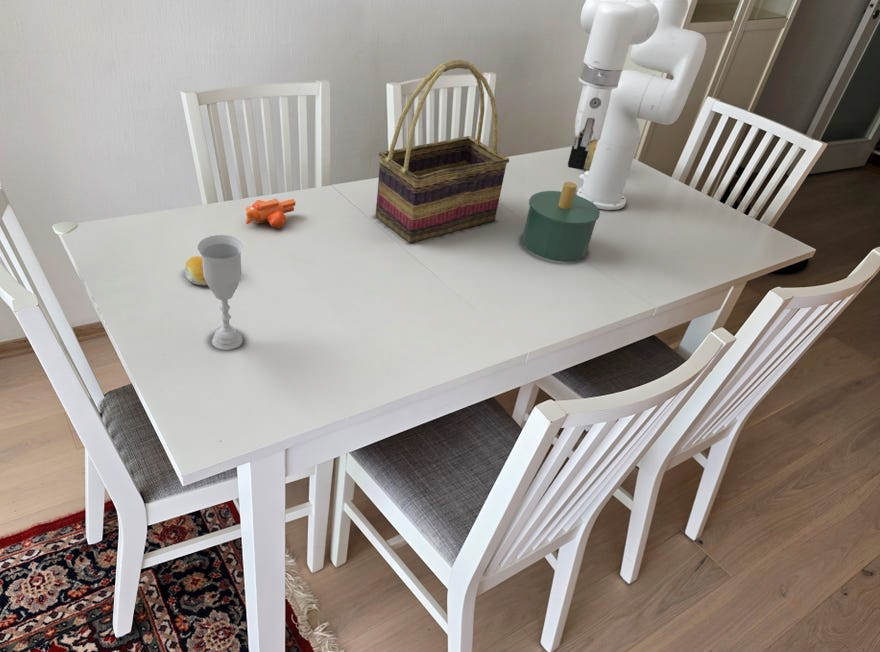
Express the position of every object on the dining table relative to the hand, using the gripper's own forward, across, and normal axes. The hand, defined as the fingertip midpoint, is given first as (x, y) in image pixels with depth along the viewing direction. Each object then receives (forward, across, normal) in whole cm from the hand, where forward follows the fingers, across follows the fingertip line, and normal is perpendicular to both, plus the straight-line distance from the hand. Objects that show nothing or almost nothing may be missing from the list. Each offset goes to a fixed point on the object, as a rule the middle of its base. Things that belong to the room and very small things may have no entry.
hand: (575, 166), depth 141 cm
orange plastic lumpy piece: (+19, -12, +61) cm, 66 cm away
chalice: (+19, -55, +54) cm, 80 cm away
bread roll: (+19, -37, +66) cm, 78 cm away
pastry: (+19, +53, -12) cm, 57 cm away
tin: (+19, 0, 0) cm, 19 cm away
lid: (+9, 0, 0) cm, 9 cm away
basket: (+19, +3, +27) cm, 34 cm away
